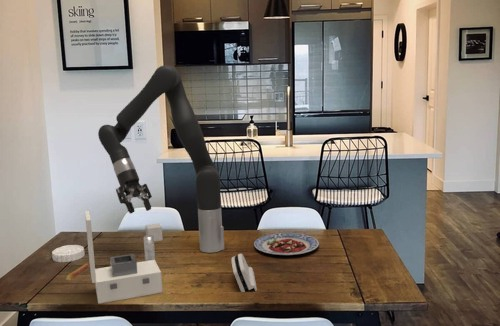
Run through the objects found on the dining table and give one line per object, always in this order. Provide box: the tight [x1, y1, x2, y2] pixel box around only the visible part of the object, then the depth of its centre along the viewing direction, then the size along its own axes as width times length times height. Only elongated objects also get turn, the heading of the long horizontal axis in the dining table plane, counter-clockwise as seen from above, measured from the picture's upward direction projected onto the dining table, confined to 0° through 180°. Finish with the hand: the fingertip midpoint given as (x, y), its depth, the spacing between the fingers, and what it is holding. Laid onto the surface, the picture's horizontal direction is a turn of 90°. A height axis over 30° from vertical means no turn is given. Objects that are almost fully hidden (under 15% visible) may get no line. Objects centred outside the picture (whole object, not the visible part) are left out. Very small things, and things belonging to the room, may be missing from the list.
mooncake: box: [51, 244, 85, 263], centre depth 199 cm, size 12×12×4 cm
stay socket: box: [109, 253, 137, 277], centre depth 163 cm, size 8×8×4 cm
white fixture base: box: [84, 210, 163, 304], centre depth 162 cm, size 21×13×27 cm, turn 110°
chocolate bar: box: [65, 262, 90, 281], centre depth 181 cm, size 3×12×2 cm, turn 165°
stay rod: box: [142, 234, 156, 261], centre depth 183 cm, size 4×4×12 cm
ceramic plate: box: [253, 232, 320, 256], centre depth 201 cm, size 26×26×3 cm
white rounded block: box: [231, 253, 258, 293], centre depth 169 cm, size 17×5×10 cm, turn 3°
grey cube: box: [144, 223, 164, 242], centre depth 217 cm, size 6×6×6 cm
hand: (140, 211), depth 188 cm, fingers open, 8 cm apart
